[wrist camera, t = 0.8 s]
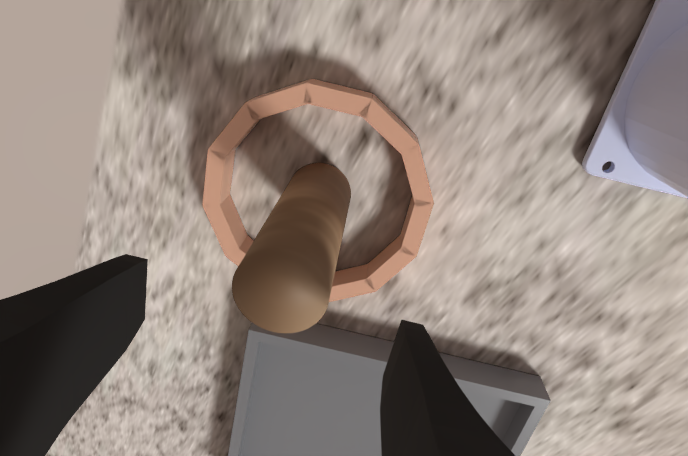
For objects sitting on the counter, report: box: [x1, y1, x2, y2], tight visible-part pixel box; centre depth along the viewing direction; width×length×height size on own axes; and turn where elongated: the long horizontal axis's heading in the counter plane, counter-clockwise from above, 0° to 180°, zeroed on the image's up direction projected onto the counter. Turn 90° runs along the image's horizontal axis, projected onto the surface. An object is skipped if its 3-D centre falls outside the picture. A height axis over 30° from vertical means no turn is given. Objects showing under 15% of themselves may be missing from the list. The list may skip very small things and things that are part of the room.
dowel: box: [232, 163, 351, 333], centre depth 18 cm, size 3×3×9 cm
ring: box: [202, 79, 434, 302], centre depth 22 cm, size 10×10×2 cm
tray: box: [228, 323, 550, 456], centre depth 27 cm, size 16×13×2 cm
